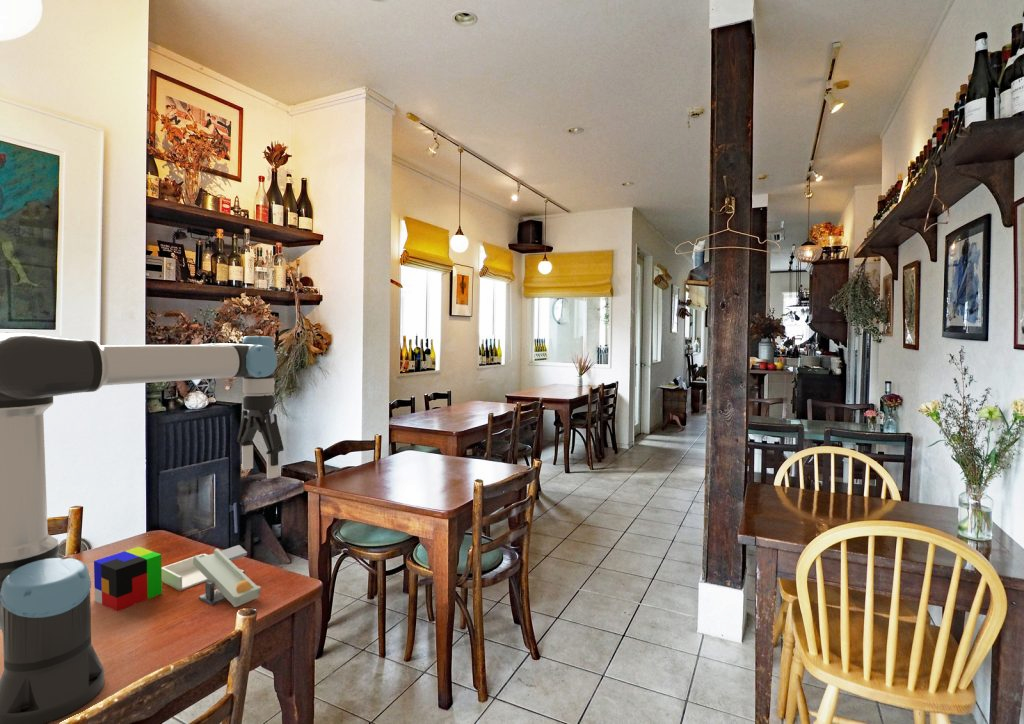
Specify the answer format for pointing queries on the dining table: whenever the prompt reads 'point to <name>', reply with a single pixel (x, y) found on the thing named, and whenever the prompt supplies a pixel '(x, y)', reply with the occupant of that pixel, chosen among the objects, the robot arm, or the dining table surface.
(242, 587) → the ball
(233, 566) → the lever
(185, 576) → the tray
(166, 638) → the dining table surface
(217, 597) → the fulcrum
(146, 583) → the puzzle toy
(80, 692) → the robot arm
